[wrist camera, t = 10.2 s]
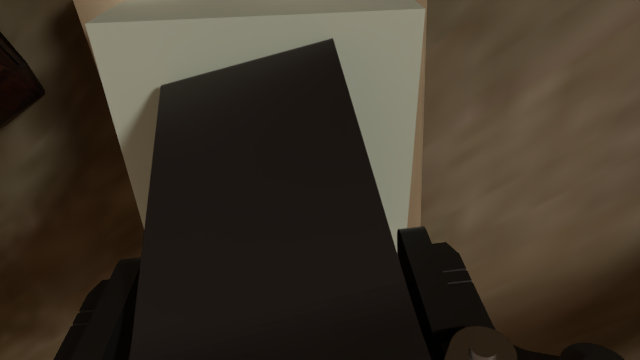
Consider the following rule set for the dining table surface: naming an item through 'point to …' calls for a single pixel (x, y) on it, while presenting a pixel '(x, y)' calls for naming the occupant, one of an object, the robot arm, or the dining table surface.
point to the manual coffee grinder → (15, 83)
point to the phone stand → (268, 223)
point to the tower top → (256, 42)
